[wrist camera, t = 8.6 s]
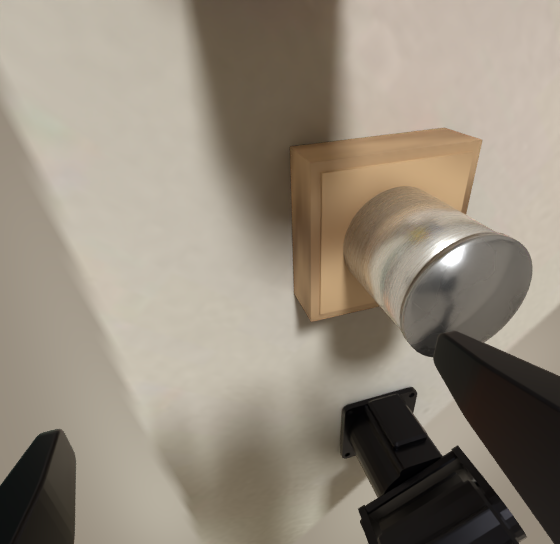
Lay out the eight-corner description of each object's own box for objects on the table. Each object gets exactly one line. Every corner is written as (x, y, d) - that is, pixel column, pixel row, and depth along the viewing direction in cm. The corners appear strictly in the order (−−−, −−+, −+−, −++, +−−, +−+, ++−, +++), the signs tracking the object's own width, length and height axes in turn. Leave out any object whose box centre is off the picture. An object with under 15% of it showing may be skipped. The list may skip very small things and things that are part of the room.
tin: (432, 274, 23) (510, 340, 18) (339, 294, 22) (397, 371, 17) (450, 176, 20) (551, 225, 15) (343, 193, 19) (415, 251, 14)
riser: (421, 266, 27) (450, 291, 24) (293, 293, 25) (311, 323, 22) (444, 127, 22) (484, 140, 20) (289, 146, 20) (311, 163, 18)
